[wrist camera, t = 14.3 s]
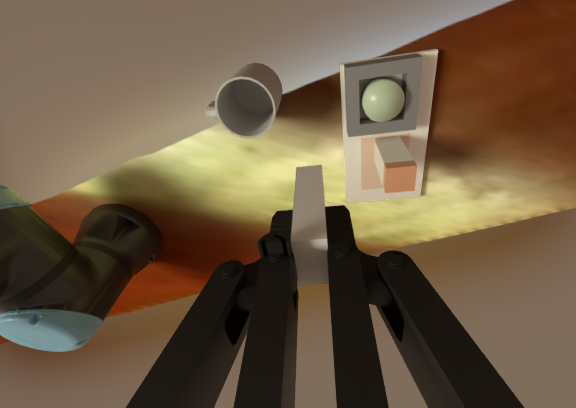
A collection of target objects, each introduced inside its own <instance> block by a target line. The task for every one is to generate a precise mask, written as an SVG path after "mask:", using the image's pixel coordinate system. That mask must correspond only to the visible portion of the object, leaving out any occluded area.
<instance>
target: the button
mask: <svg viewBox="0 0 576 408" xmlns="http://www.w3.org/2000/svg"><path fill="white" fill-rule="evenodd" d="M404 101H405V97H404V92H403V90H402V89H401V87H400V86H399V85H398V84H397V83H396V82H395V81H394V80H393V79H391V78H389V77H386V76H383V77H376V78H374V79H372V80H370V81H369V82H368V83H367V84H366V85H365V86H364V88H363V90H362V93H361V104H362V106H363V109H364V111H365V113H366V115H367V116H368V117H369V118H370V119H371V120H373V121H376V122H385V121H389V120H391V119H393V118H394V117H396V116H397V115H398V114H399V113H400V111H401V110H402V108H403V105H404Z"/></svg>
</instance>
